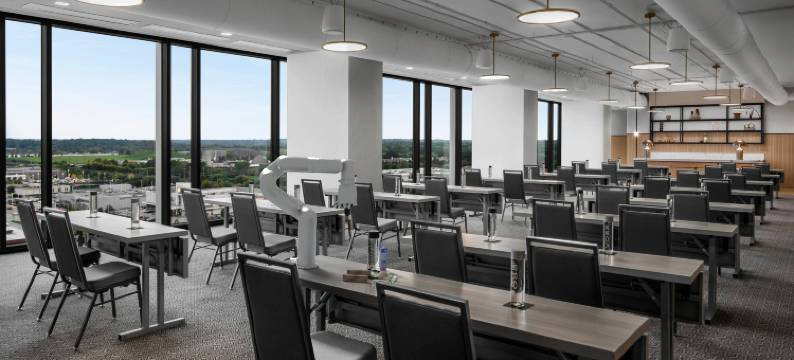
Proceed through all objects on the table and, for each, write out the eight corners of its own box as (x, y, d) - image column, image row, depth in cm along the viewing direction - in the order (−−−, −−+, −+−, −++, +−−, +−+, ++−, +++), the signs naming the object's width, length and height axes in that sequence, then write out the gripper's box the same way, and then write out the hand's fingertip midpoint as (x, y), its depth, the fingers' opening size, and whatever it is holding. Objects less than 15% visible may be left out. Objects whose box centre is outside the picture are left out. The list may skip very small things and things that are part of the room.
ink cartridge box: (387, 270, 307) (387, 243, 305) (380, 272, 302) (381, 245, 301) (372, 267, 312) (373, 241, 311) (366, 269, 308) (366, 242, 307)
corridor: (342, 280, 283) (342, 274, 283) (347, 275, 295) (347, 269, 294) (367, 282, 282) (367, 276, 281) (370, 276, 293) (370, 270, 293)
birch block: (378, 281, 285) (378, 273, 284) (379, 278, 290) (380, 270, 289) (388, 281, 284) (388, 273, 284) (389, 279, 289) (390, 271, 289)
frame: (373, 282, 281) (373, 280, 281) (376, 276, 293) (376, 274, 293) (394, 283, 280) (394, 281, 280) (396, 277, 292) (396, 275, 292)
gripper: (332, 182, 311) (332, 216, 312) (360, 183, 309) (359, 217, 310) (335, 181, 318) (335, 214, 319) (362, 182, 316) (361, 215, 318)
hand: (347, 215), depth 315 cm, fingers closed
